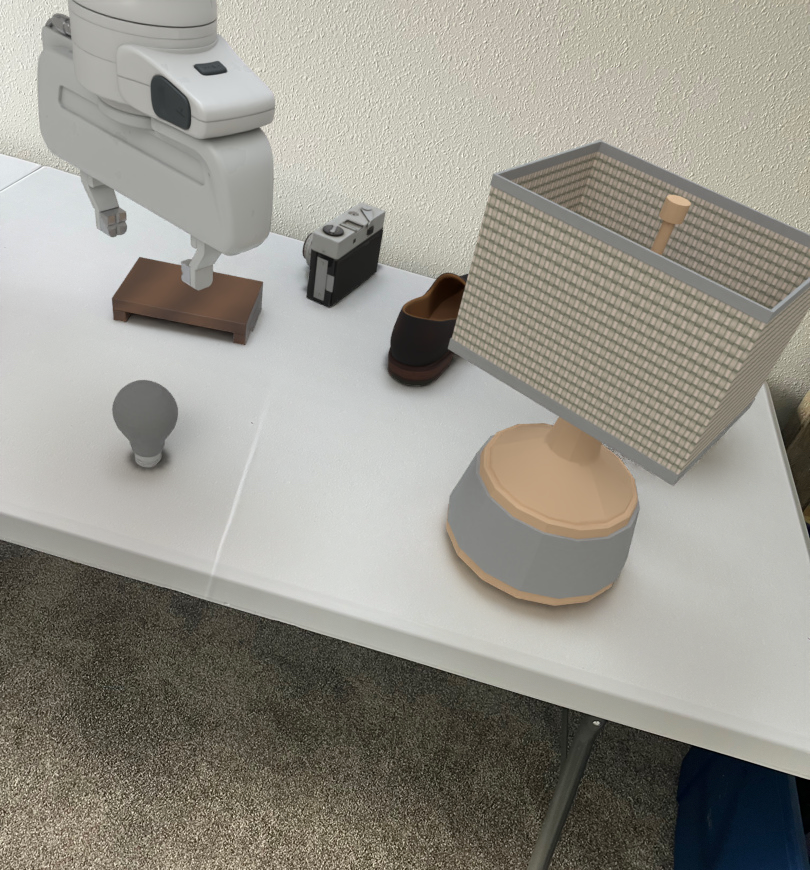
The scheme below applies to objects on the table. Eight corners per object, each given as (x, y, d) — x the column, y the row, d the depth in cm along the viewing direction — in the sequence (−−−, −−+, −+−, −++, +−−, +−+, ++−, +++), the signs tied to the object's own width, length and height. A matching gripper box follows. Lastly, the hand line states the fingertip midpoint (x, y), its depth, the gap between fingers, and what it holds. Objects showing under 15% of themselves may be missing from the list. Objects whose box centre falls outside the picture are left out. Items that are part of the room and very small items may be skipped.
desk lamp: (393, 532, 80) (484, 163, 54) (496, 457, 92) (612, 125, 66) (568, 661, 72) (772, 305, 46) (657, 562, 84) (858, 234, 58)
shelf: (114, 327, 95) (111, 298, 93) (140, 285, 103) (139, 256, 100) (244, 352, 97) (246, 324, 94) (261, 308, 105) (263, 281, 102)
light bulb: (159, 494, 77) (155, 413, 70) (105, 473, 78) (96, 391, 71) (190, 460, 82) (189, 380, 75) (139, 440, 82) (133, 360, 75)
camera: (331, 254, 119) (339, 188, 112) (378, 273, 117) (389, 208, 110) (281, 287, 109) (286, 217, 102) (332, 309, 108) (341, 240, 101)
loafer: (510, 316, 116) (529, 253, 109) (433, 404, 97) (451, 335, 90) (452, 292, 118) (468, 229, 111) (366, 374, 98) (378, 304, 92)
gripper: (-1, 6, 51) (30, 212, 61) (222, 121, 45) (217, 330, 55) (80, 1, 55) (97, 194, 65) (295, 106, 49) (278, 303, 59)
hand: (153, 257), depth 60 cm, fingers open, 8 cm apart
